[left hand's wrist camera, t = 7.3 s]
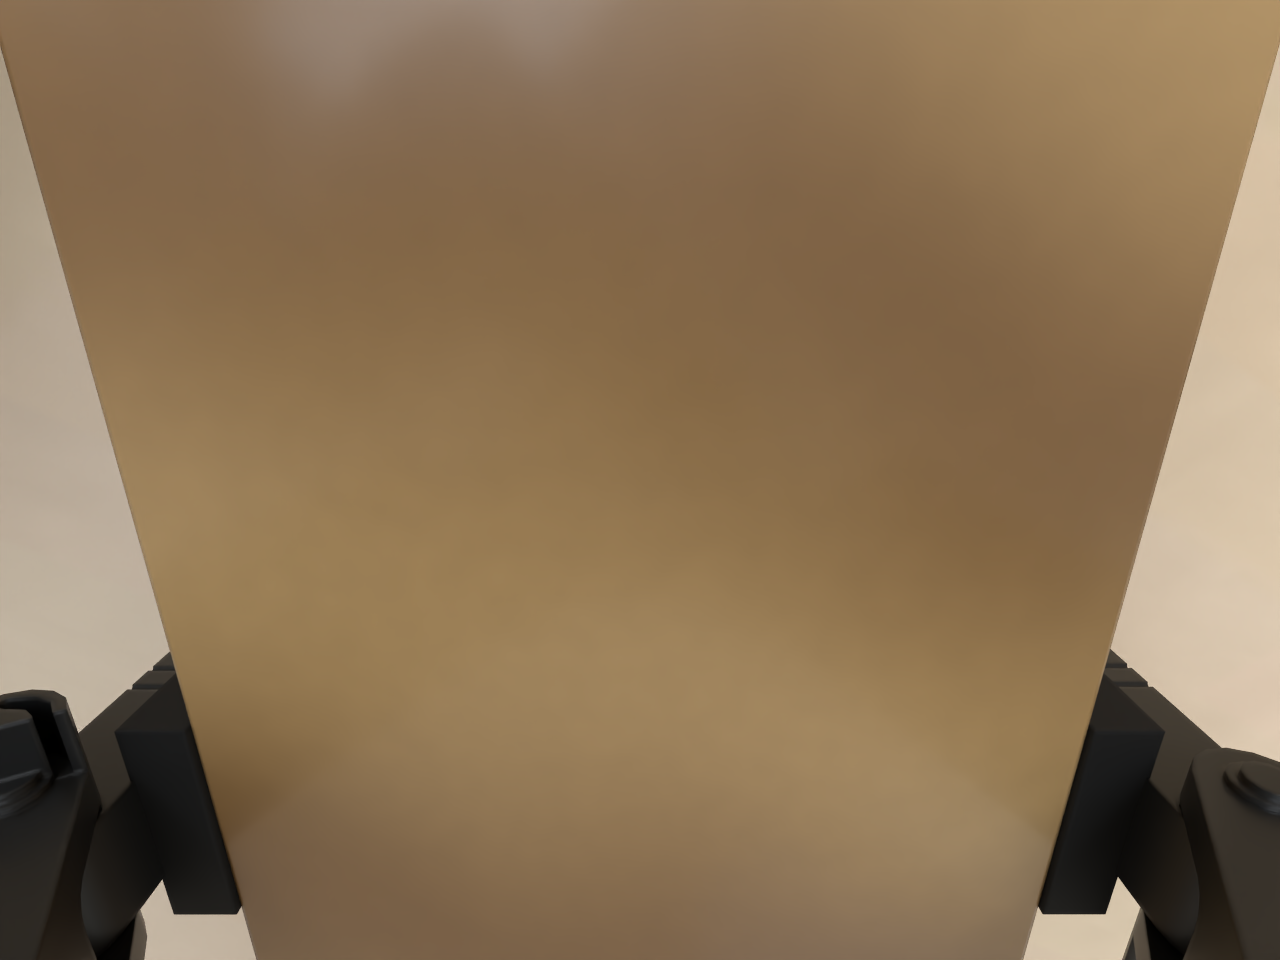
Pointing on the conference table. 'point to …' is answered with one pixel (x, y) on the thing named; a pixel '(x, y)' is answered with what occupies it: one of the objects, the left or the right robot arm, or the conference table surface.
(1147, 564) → the conference table surface
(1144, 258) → the beam
